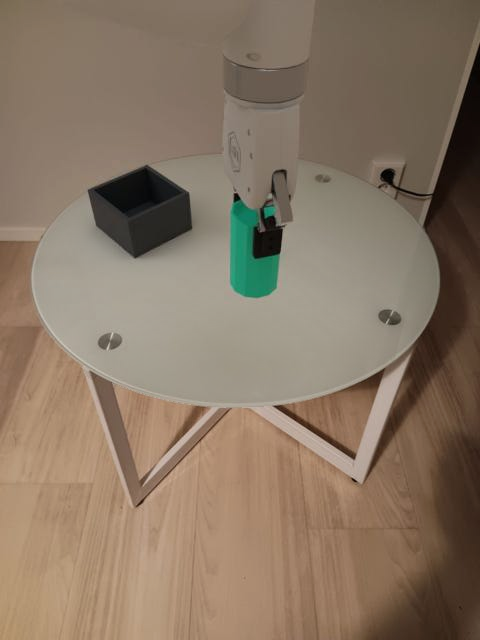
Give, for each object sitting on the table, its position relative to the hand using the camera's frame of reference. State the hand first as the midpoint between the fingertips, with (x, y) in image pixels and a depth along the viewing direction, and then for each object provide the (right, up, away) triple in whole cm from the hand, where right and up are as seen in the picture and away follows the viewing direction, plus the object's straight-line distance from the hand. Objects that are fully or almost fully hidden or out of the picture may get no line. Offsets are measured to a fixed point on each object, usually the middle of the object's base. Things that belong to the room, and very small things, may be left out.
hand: (256, 236), depth 59 cm
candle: (0, -5, +5) cm, 7 cm away
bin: (-19, +7, +35) cm, 40 cm away
